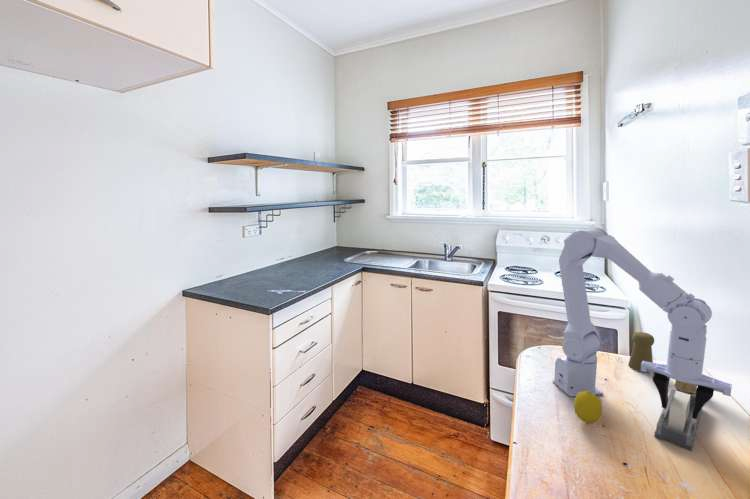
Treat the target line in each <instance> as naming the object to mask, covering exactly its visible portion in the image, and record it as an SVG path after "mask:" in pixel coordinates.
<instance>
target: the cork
mask: <svg viewBox="0 0 750 499" xmlns="http://www.w3.org/2000/svg"><path fill="white" fill-rule="evenodd" d="M631 338H632V341H633V345H632V349H631V354H630V357H629V361H628V364H627V366H628V367H629V368H630V369H632V370H634V371H637V372H640V373H646V374H647V373H648V374H649V373H650V372H643V371H641V363H642V362H643V361H647V362H651V363H654V360H653V349H652V346H653V345H654V343H655V338H654V336H653V335H652V334H650V333H647V332H643V331H637V332H634V333H633V334H632V337H631Z"/></svg>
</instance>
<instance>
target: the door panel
mask: <svg viewBox="0 0 750 499" xmlns="http://www.w3.org/2000/svg"><path fill="white" fill-rule="evenodd" d="M679 391H680V390H679ZM679 391H676V392H675V394H674V397H673V399H672V402H671V405H670V412H669V422H668V427H671V428H674V429H677V430H679V431H682V432H684V431H685V427H686V424H687V420H688V414H689V405H690V396H691V395H689V394H690V393H689V394H686V393H687V392H686V393H682V392H683V391H682V392H679Z"/></svg>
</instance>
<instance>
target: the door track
mask: <svg viewBox="0 0 750 499" xmlns="http://www.w3.org/2000/svg"><path fill="white" fill-rule="evenodd" d="M676 391H679V392H682V393H686V394H689V395H691V396H690V405H689V414H688V420H687V424H686V427H685V431H684V432H682V431H679V430H677V429H674V428H671V427H668V422H669V412H670V405H671V402H672V399H673V397H674V394H675V392H676ZM695 399H696V394H693V393H687V392H683V391H681V390H679V389H677V388H671V389H670V390H669V393H668V404H667V407H666V409H665V408H662V411H661V414H660V416H659V418H658V421H657V423H656V427H655V428H656V429H655V430H654V435H653V436H654V438H657V439H660V440H662V441H664V442H667V443H668V444H671V445H674V446H677V447H679V448H682V449H685V450H688V451H690V452H692V451H693V447H694V443H695V440H696V435H697V431H698V428H699V423H700V420H701V415H702V411H703V407H702V408H701V410H700V412H699V414H698V416H697V419H694V418H692V416H693V411H694V407H695Z"/></svg>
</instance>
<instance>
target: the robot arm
mask: <svg viewBox="0 0 750 499" xmlns="http://www.w3.org/2000/svg"><path fill="white" fill-rule="evenodd" d="M563 243H564V246H563V248H562V250H561V254H560V255H559V259H558V264H559V270H560V277H561V285H562V292H563V297H564V304H565V312H566V317H567V318H566V319H567V325H566V327H565V329H564V331H563V341H562V344H561V348H562V352H563V354H565V355H563V356H562V357H561V356H560V357H558V358H556V359H555V362H554V378H553V379H552V382H553V383H555V385H557V386H558V387H559V388H560V389H561V390H562V392H564V393H565V394H566V395H567V396H569V397H576V396H577V394H578V393H580V392H583V391H590V392H591V393H593V394H595V395H596V396H597V395H603V394H604V392H603V390H601V389H600V388H598V387H597V386H596V382H597V381H596V380H597V367H598V364H597V363H598V357H597V354H598V353H597V352H599V351H600V350H601V349H602V347H603V341H602V338H601V336H600V335H599V333H598V330H597V327H596V325H594V323H592V320H591V314H590V306H589V300H588V295H587V287H586V281H585V280H586V279H585V274H584V267H583V265H585V263H586V262H587V261H588V260H589V259H590V258H591V257H594V258H601V259H608V260H610V261H611V262H612V263H614V264H615V265H616V266H617V267H619V268H620V269H621V270H622V271H624V272H625V273H627V274H628V275H629V276H630V277H632V278H633V279H634V280H636V281H637V282H638V289H639V291H640V292H641V293H643V294H644V295H645V296H646V297H647V298H648V299H649V300H651V302H653V303H654V304H655V305H656V306H658V307H659V308H660V309H661V310H662V311H664V312H665V313H666V314H667V319H668V321H669V322H670V324H671V327H670V328H671V329H670V334H669V340H668V341H669V342H668V349H667V350H668V351H667V352H668V353H667V361H666V364H663V363H662V364H661V363H657V362H653V363H651V362H647V361H643V362H642V363H641V371H643V372H642V373H644V372H650V373H651V374H653V377H652V382H653V385H655V387H656V390H657V392H658V395H659V398H660V402H661V408H662V409H663V408H665V409H666V407H667V404H668V396H669V386H670V379H672V380H675V381H676V380H678V381H681V382H685V383H689V384H693V385H696V386H697V390H696V393H695V395H696V399H695V407H694V411H693V416H692V418H694V419H697V416H698V414H699V412H700V410H701V408H702V409H703V407H704V406H706V404H707V403H708V402H709V401H710V400H711V399H712V398H713V396H714V392H717V393H718V392H719V393H722V395H724V396H728V397H731V394H732V386H733V385H732V383H729V382H725V381H722V380H719V379H716V378H715V377H711V376H709V375H707V374H706V375H705V374H703V369H704V361H705V354H706V344H707V333H708V332H707V329H708V328H707V325H706V324H707V323H708V322H709V321H710V320H711V318H712V316H713V312H712V309H711V307H710V306H709V305H708V303H707V302H706V301H705V300H703V299H700V298H696V297H695V295H694V294H692V293H688V292H687V291H685V290H684V289H682V287H680V286H678V284H676V283H675V282H674V281H675V279H674V277H672V276H671V275H670V274H669V275H667V276H666V275H665V274H663V273H662V272H661V273H660V272H652V271H651V270H650V269H648V268H647V267H646V266H645V265H644V264H643V263H642V262H641V261H640V260H639V259H637V258H636V257H635V256H634V255H633V254H632V253H631V252H630V251H629V250H627V249H626V248H625V247H624V246H623V245H622V244H621V243H620V242H619V241H618V240H617V239H616V238H615V236H612V235H610V234H608V232H606V230H604V229H603V228H600V227H593V228H589V229H585V230H575V231H573V232H571V234H570V235H569V236H567V237H566V238H565V239H564V240H563Z"/></svg>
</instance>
